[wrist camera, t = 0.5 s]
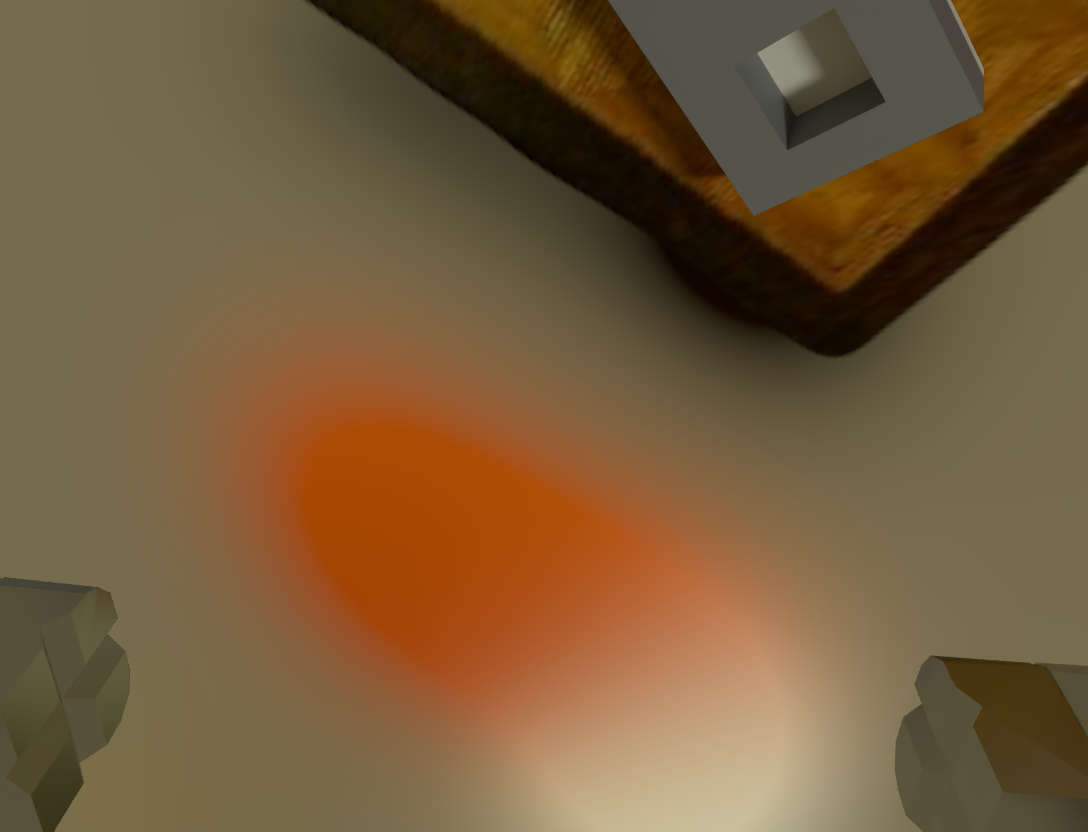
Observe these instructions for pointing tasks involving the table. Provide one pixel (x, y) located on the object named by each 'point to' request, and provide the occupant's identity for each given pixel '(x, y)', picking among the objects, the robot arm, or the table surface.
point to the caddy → (808, 82)
